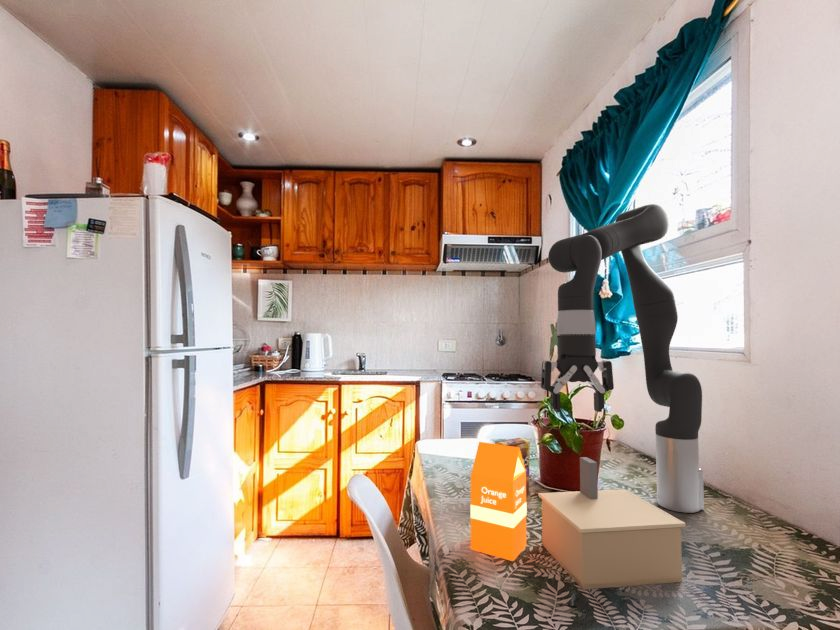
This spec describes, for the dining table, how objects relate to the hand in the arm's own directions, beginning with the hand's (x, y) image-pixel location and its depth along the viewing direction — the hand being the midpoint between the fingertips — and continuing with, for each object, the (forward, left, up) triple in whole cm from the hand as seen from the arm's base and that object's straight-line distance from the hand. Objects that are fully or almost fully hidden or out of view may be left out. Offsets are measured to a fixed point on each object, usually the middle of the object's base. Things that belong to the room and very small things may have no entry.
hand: (577, 411), depth 90 cm
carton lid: (-1, +8, -17) cm, 19 cm away
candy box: (+6, -23, -27) cm, 36 cm away
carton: (-1, +8, -26) cm, 27 cm away
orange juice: (+17, 0, -27) cm, 31 cm away
